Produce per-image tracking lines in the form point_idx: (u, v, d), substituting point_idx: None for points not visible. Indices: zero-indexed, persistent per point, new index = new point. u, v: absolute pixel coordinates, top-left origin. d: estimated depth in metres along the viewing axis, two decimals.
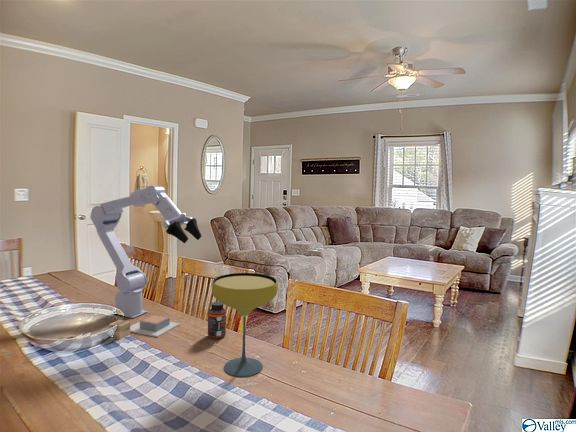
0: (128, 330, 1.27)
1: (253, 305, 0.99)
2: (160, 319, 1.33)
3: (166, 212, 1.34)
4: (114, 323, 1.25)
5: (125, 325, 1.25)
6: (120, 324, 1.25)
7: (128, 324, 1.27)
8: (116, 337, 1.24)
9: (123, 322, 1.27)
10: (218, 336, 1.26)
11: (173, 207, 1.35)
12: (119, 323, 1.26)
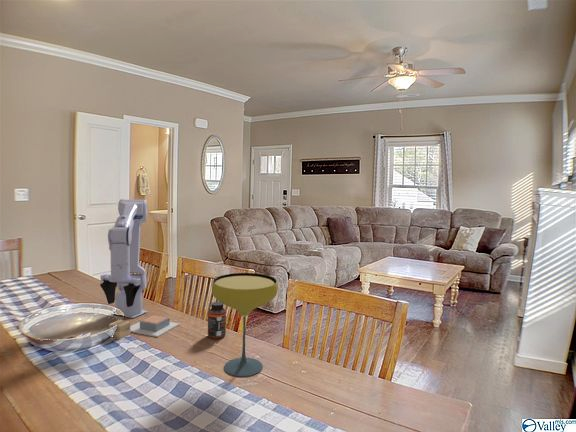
0: (128, 330, 1.27)
1: (253, 305, 0.99)
2: (160, 319, 1.33)
3: None
4: (114, 323, 1.25)
5: (125, 325, 1.25)
6: (120, 324, 1.25)
7: (128, 324, 1.27)
8: (116, 337, 1.24)
9: (123, 322, 1.27)
10: (218, 336, 1.26)
11: (112, 266, 1.22)
12: (119, 323, 1.26)
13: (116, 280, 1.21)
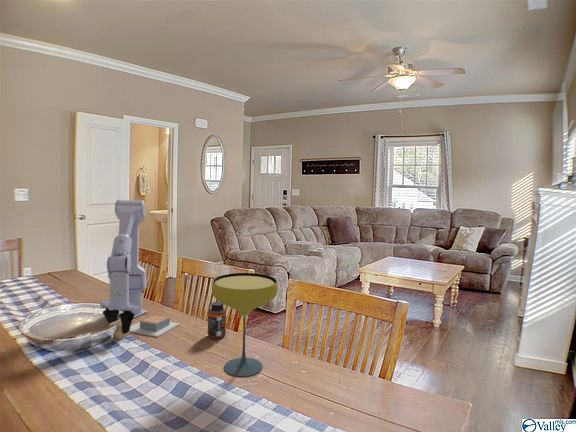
0: None
1: (253, 305, 0.99)
2: (160, 319, 1.33)
3: None
4: (114, 323, 1.25)
5: None
6: (120, 324, 1.25)
7: None
8: (116, 337, 1.24)
9: None
10: (218, 336, 1.26)
11: (111, 294, 1.23)
12: (119, 323, 1.26)
13: (115, 308, 1.22)
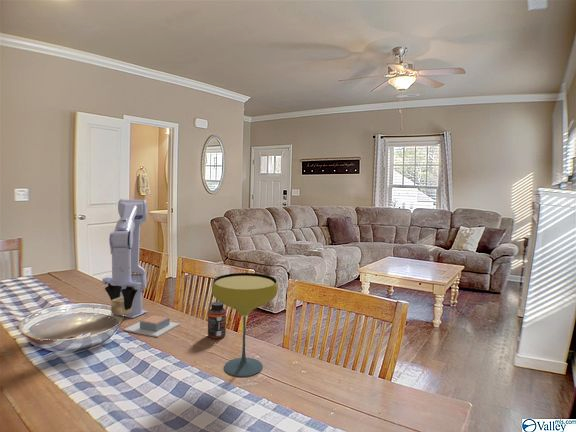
0: None
1: (253, 305, 0.99)
2: (160, 319, 1.33)
3: None
4: (116, 299, 1.25)
5: None
6: (122, 300, 1.25)
7: None
8: (118, 313, 1.24)
9: None
10: (218, 336, 1.26)
11: (113, 270, 1.23)
12: (122, 299, 1.25)
13: (117, 284, 1.22)
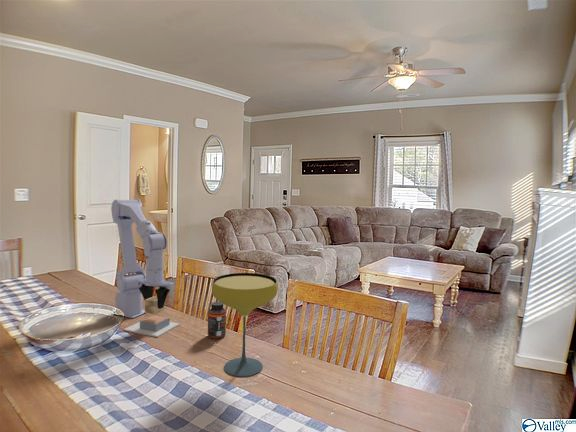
0: None
1: (253, 305, 0.99)
2: (160, 319, 1.33)
3: None
4: (149, 299, 1.32)
5: None
6: (155, 299, 1.31)
7: None
8: (152, 312, 1.31)
9: None
10: (218, 336, 1.26)
11: (147, 271, 1.30)
12: (155, 299, 1.32)
13: (151, 284, 1.29)
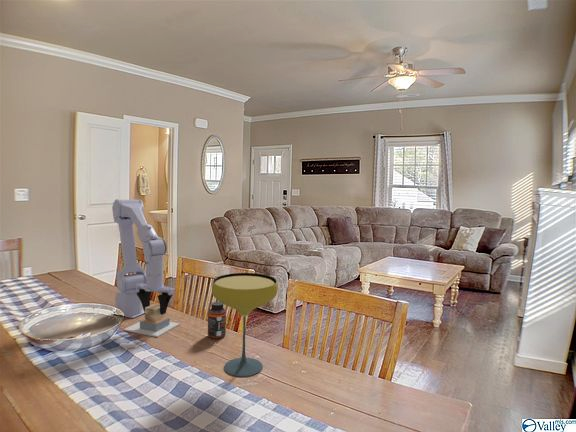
0: None
1: (253, 305, 0.99)
2: None
3: None
4: (149, 307, 1.32)
5: None
6: (155, 308, 1.32)
7: None
8: (152, 320, 1.31)
9: (158, 306, 1.34)
10: (218, 336, 1.26)
11: (147, 276, 1.30)
12: (155, 307, 1.33)
13: (151, 290, 1.29)
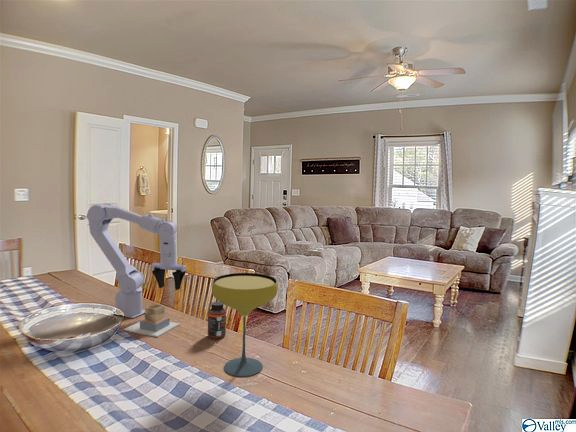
0: (163, 313, 1.34)
1: (253, 305, 0.99)
2: None
3: None
4: (149, 307, 1.32)
5: (160, 309, 1.32)
6: (155, 308, 1.32)
7: (162, 308, 1.34)
8: (152, 320, 1.31)
9: (158, 306, 1.34)
10: (218, 336, 1.26)
11: (162, 255, 1.43)
12: (155, 307, 1.33)
13: (166, 267, 1.42)
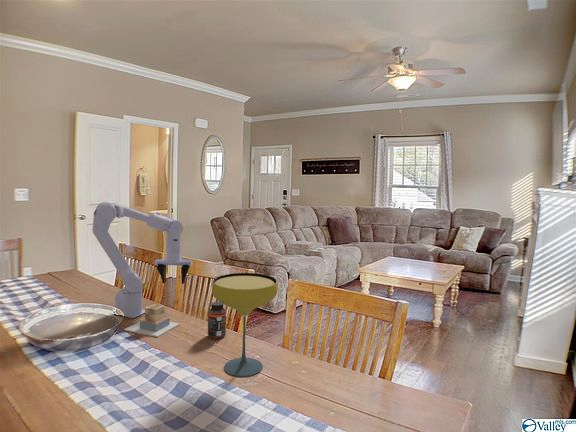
0: (163, 313, 1.34)
1: (253, 305, 0.99)
2: None
3: (166, 251, 1.52)
4: (149, 307, 1.32)
5: (160, 309, 1.32)
6: (155, 308, 1.32)
7: (162, 308, 1.34)
8: (152, 320, 1.31)
9: (158, 306, 1.34)
10: (218, 336, 1.26)
11: (169, 252, 1.50)
12: (155, 307, 1.33)
13: (174, 262, 1.50)
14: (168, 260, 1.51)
